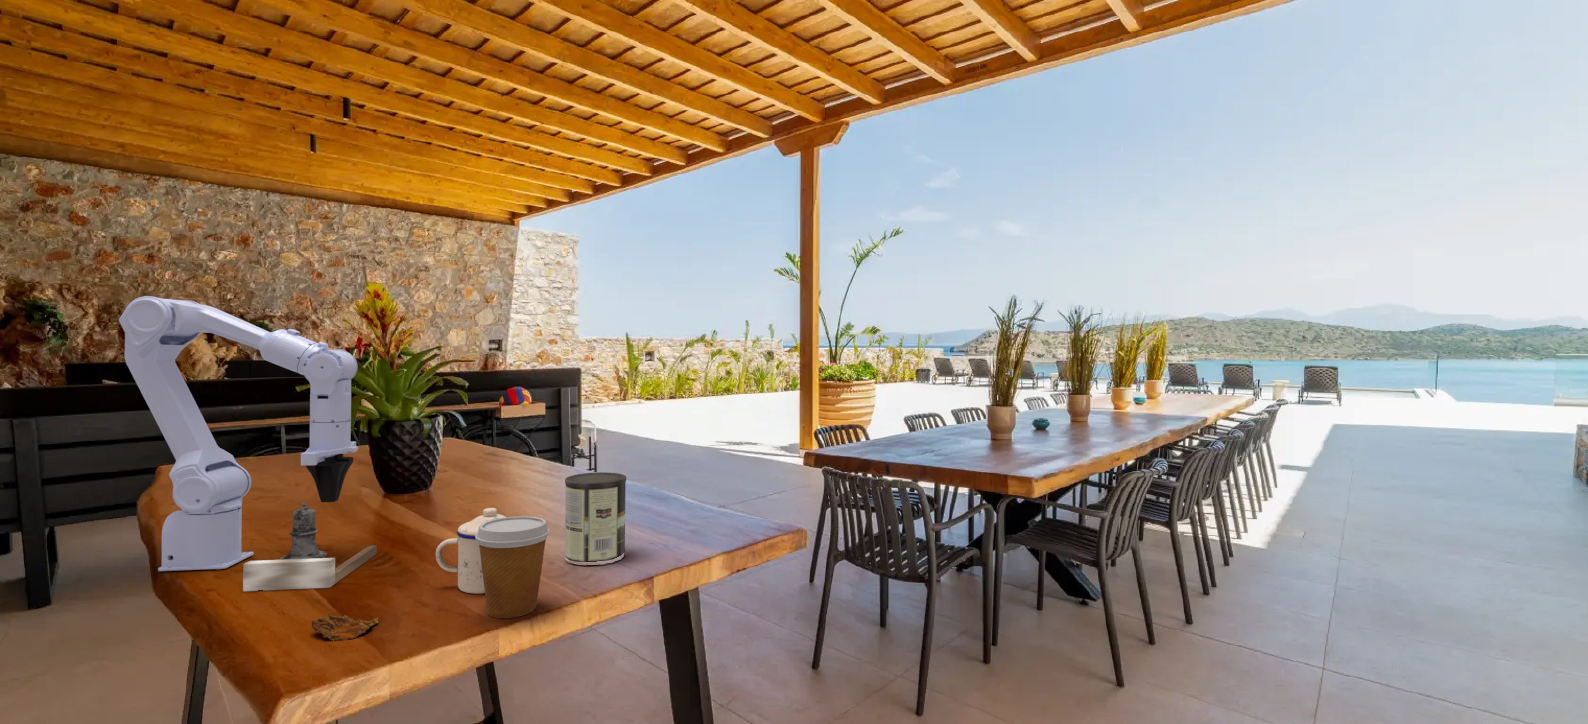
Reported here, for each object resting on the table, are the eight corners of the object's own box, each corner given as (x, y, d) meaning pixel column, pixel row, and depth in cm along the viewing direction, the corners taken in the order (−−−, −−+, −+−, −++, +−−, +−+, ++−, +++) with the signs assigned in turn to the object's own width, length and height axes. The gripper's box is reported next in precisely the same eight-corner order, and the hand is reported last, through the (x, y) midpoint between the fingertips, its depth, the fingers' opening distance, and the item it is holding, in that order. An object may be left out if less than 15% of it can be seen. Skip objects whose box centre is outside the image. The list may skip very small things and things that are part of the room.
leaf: (351, 646, 83) (354, 633, 83) (299, 637, 83) (302, 623, 83) (387, 630, 89) (389, 617, 89) (338, 621, 90) (340, 609, 90)
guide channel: (243, 591, 99) (243, 564, 99) (303, 556, 116) (303, 533, 115) (329, 587, 101) (330, 561, 101) (376, 554, 118) (376, 531, 118)
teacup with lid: (524, 573, 109) (525, 501, 109) (516, 592, 100) (517, 514, 100) (443, 578, 106) (443, 504, 106) (427, 599, 97) (428, 518, 97)
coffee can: (597, 545, 125) (598, 470, 125) (637, 555, 120) (638, 476, 120) (551, 559, 117) (552, 478, 116) (591, 570, 111) (593, 485, 111)
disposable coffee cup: (555, 615, 92) (556, 527, 92) (479, 629, 87) (480, 536, 87) (540, 593, 100) (541, 512, 100) (469, 605, 95) (471, 520, 95)
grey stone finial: (335, 574, 107) (336, 498, 107) (305, 586, 101) (306, 507, 101) (301, 572, 108) (302, 497, 108) (269, 584, 102) (270, 505, 102)
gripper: (335, 425, 108) (334, 510, 108) (375, 417, 122) (373, 492, 122) (286, 425, 106) (285, 511, 106) (331, 416, 121) (330, 492, 121)
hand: (329, 501), depth 114 cm, fingers closed
